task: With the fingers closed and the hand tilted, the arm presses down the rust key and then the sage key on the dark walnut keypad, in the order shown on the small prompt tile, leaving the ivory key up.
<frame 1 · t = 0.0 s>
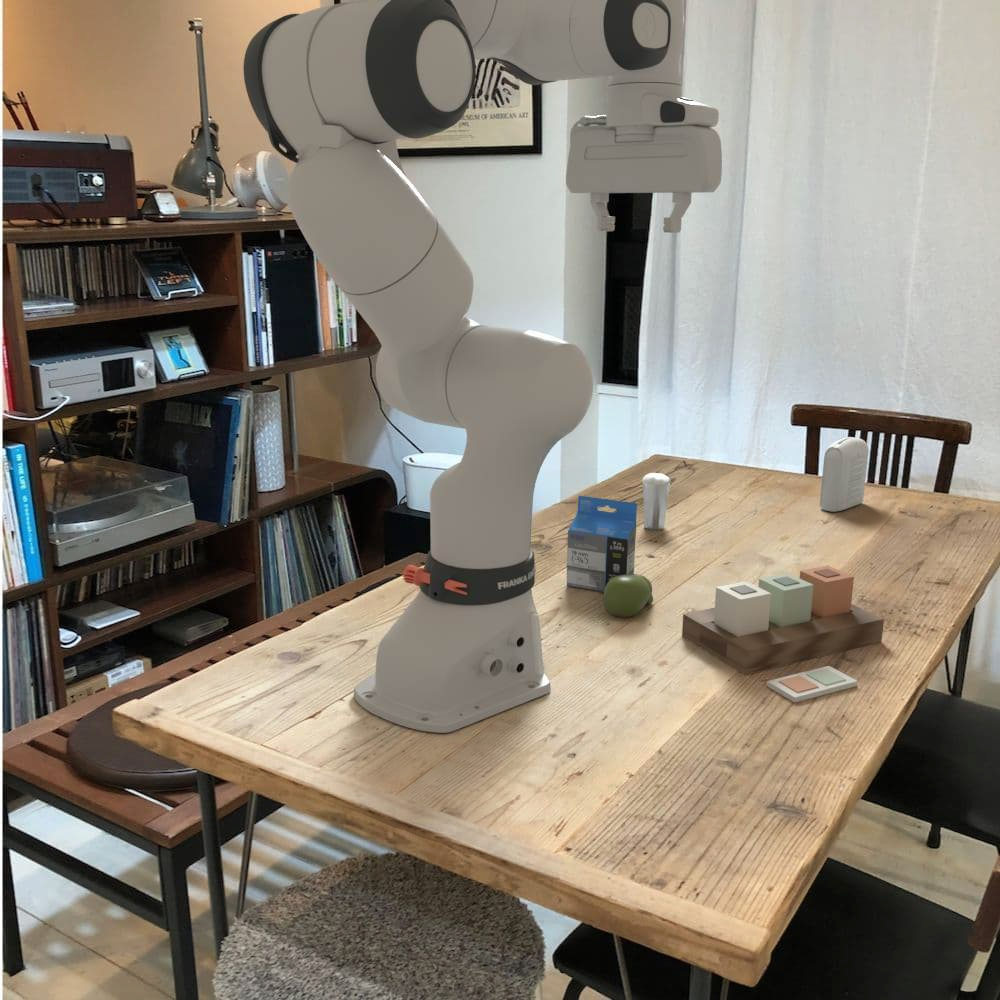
hand: (638, 231, 127), 48 cm above the table, tool pointing down, fingers open, 8 cm apart
keypad base: (781, 639, 126), on the table
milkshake: (656, 529, 170), on the table
prompt tile: (811, 686, 114), on the table
key rust: (825, 590, 127), point 5 cm above the table, slide at 0.0 cm
key sage: (784, 599, 125), point 5 cm above the table, slide at 0.0 cm
label tape cartridge: (599, 588, 143), on the table
key ivory: (742, 608, 122), point 5 cm above the table, slide at 0.0 cm
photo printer: (841, 507, 182), on the table
pear: (629, 610, 136), on the table
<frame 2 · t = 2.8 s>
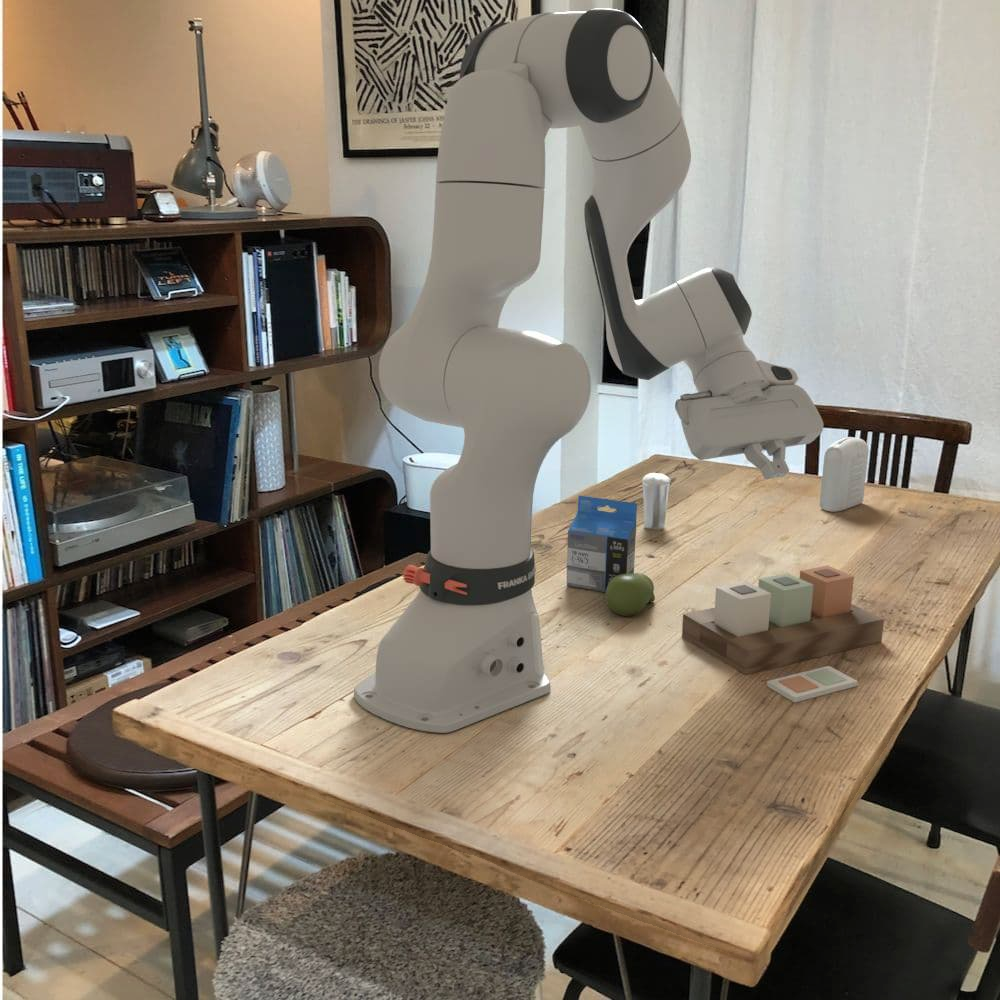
hand: (777, 475, 133), 18 cm above the table, tool tilted 45°, fingers closed
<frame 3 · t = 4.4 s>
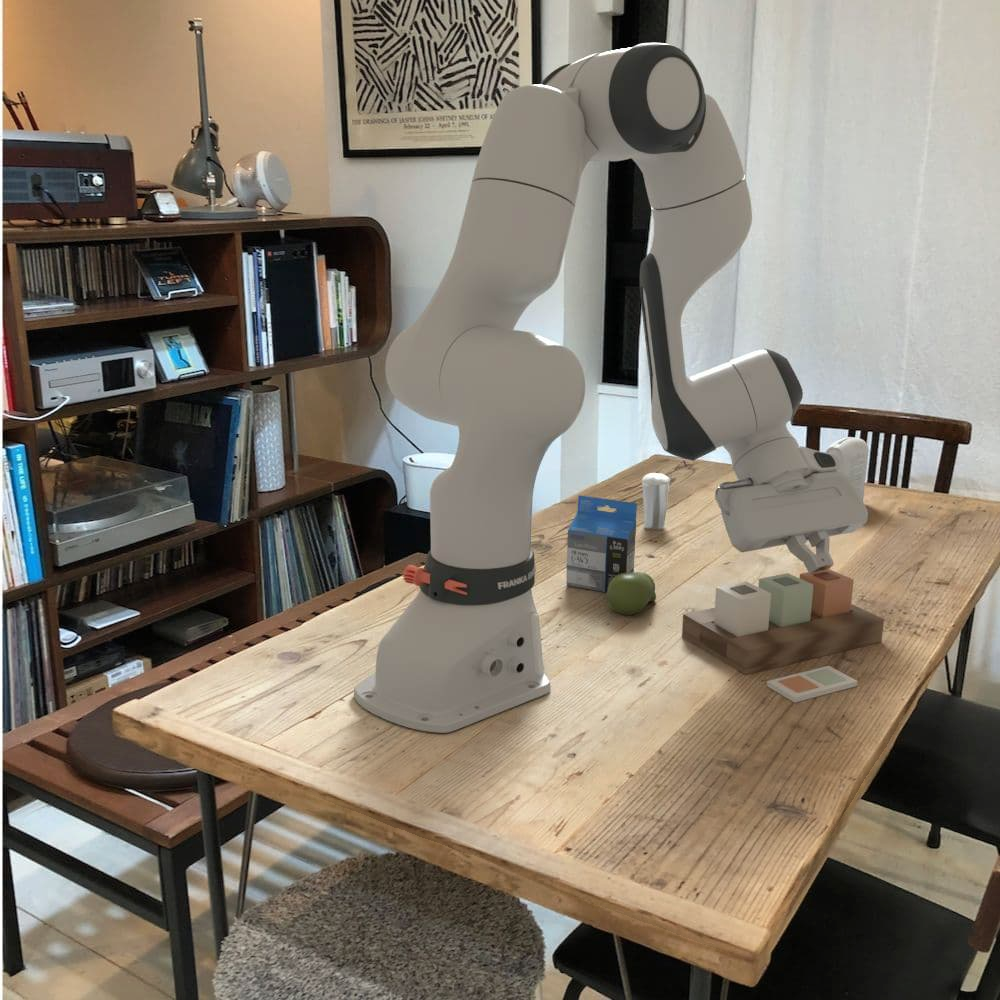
hand: (822, 569, 128), 8 cm above the table, tool tilted 45°, fingers closed, pressing on key rust
key rust: (824, 594, 128), point 5 cm above the table, slide at 0.4 cm, touching gripper
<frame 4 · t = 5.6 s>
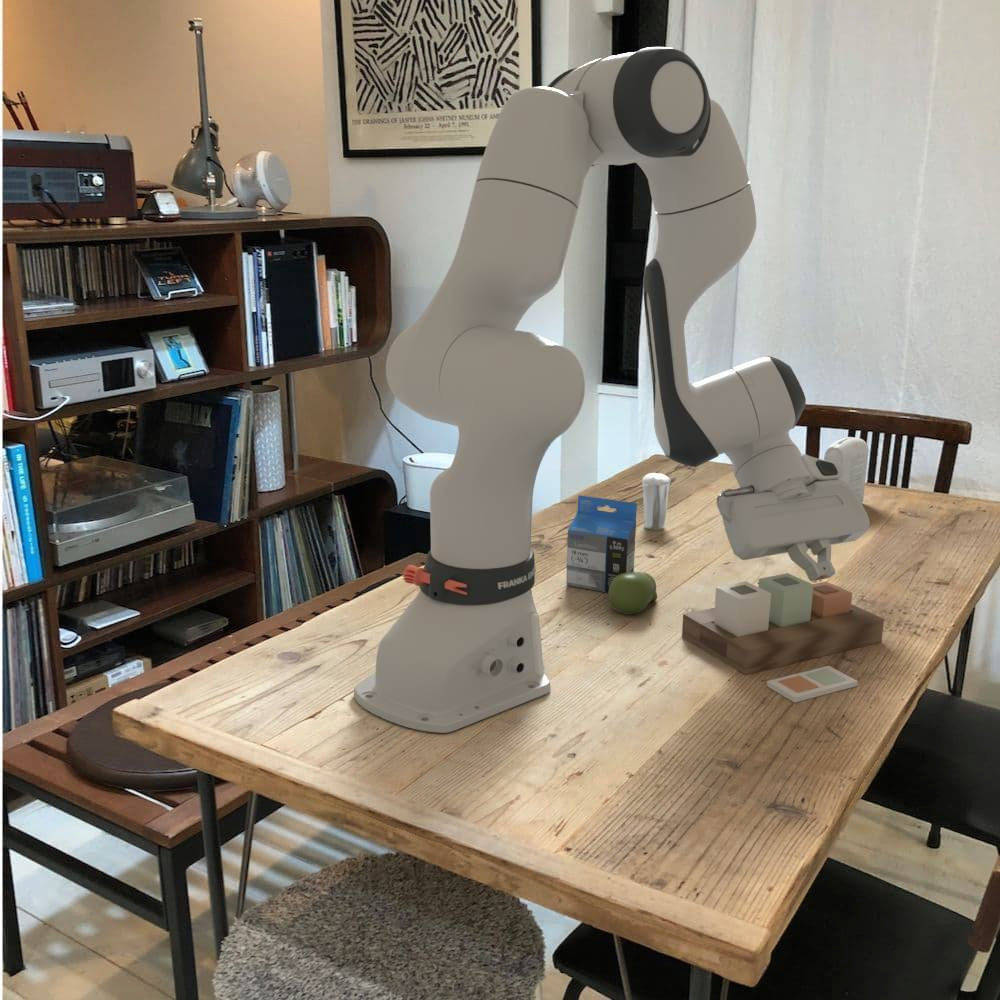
hand: (823, 577, 127), 7 cm above the table, tool tilted 45°, fingers closed
key rust: (823, 607, 128), point 3 cm above the table, slide at 2.2 cm
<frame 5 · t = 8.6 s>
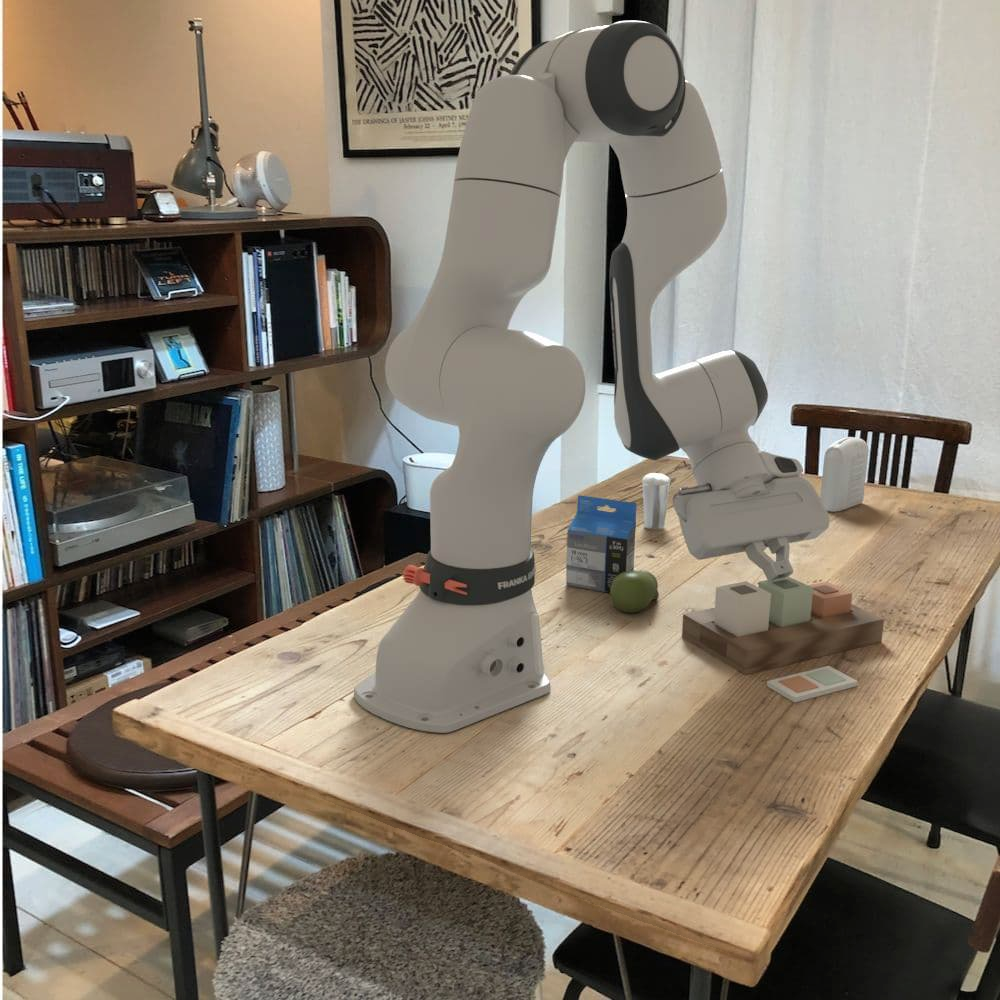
hand: (781, 577, 125), 8 cm above the table, tool tilted 45°, fingers closed, pressing on key sage
key sage: (784, 602, 125), point 5 cm above the table, slide at 0.4 cm, touching gripper
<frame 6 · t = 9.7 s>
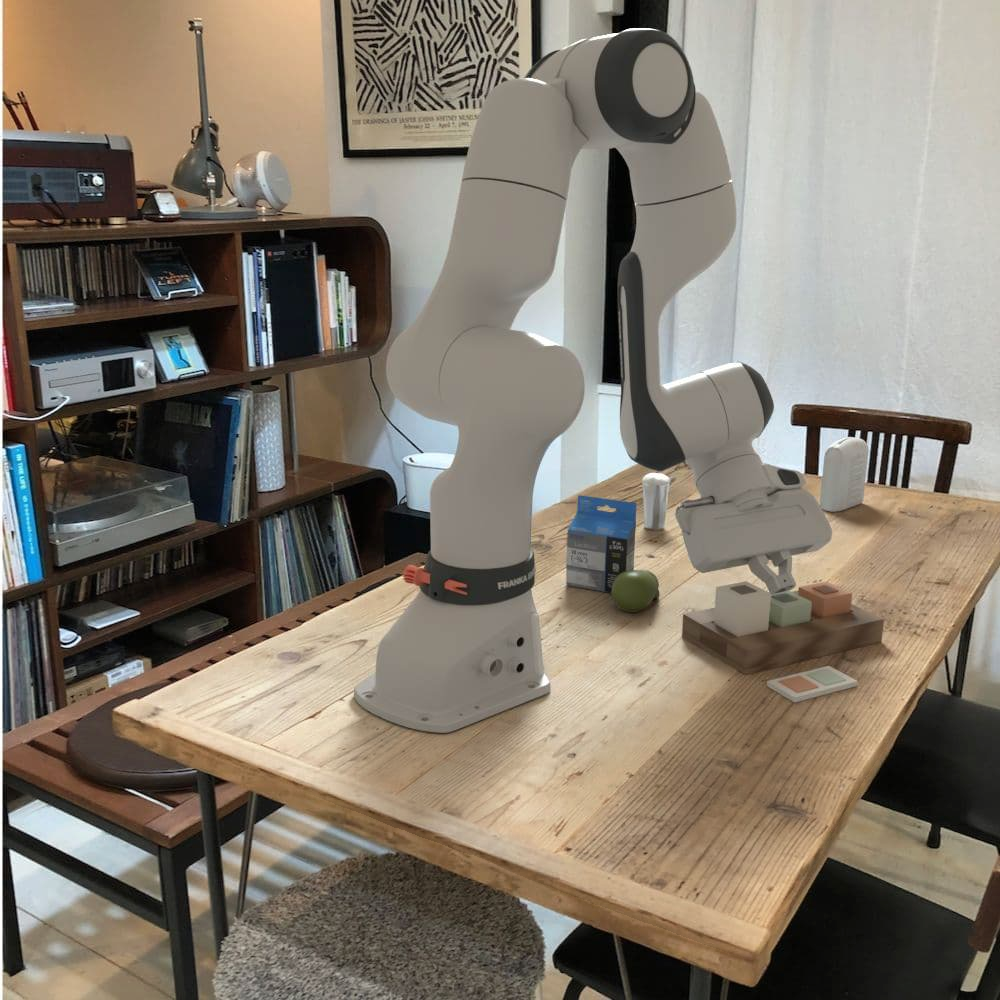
hand: (784, 590, 125), 6 cm above the table, tool tilted 45°, fingers closed
key sage: (783, 616, 125), point 3 cm above the table, slide at 2.2 cm
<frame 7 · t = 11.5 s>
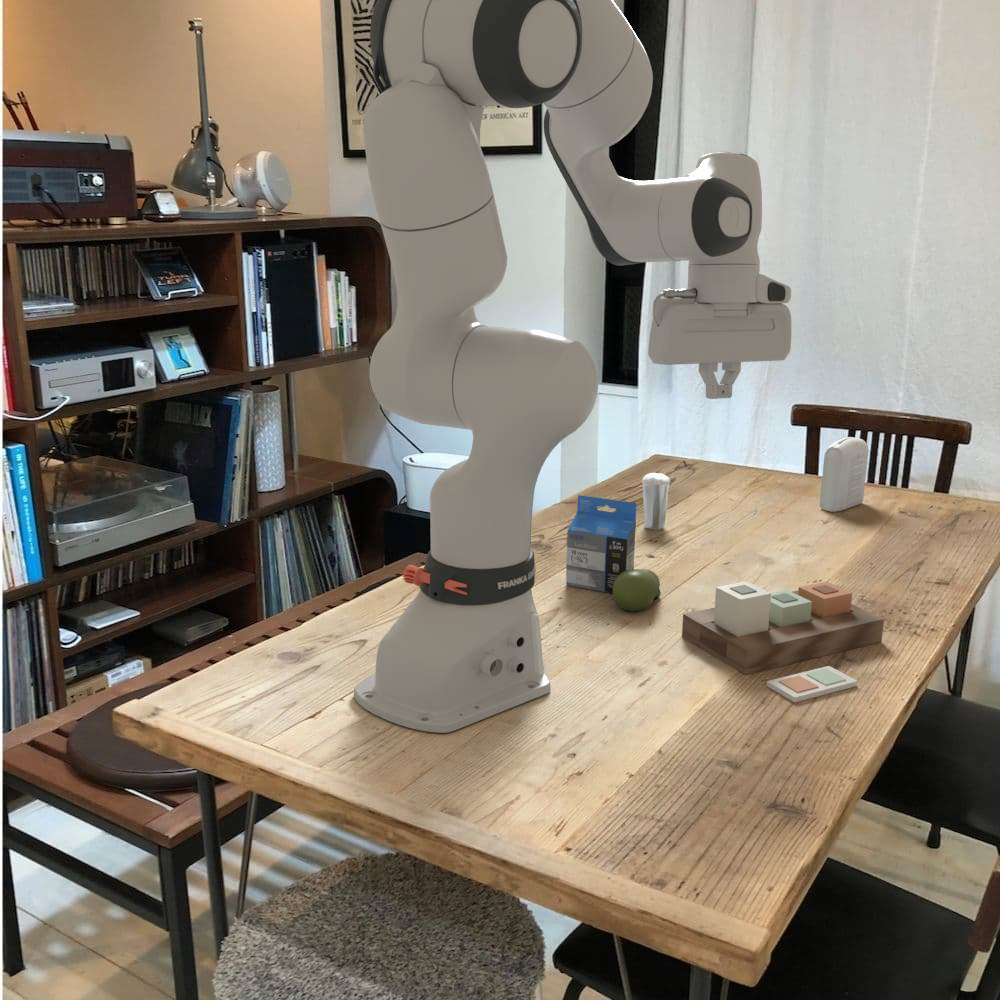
hand: (718, 398, 133), 27 cm above the table, tool pointing down, fingers closed
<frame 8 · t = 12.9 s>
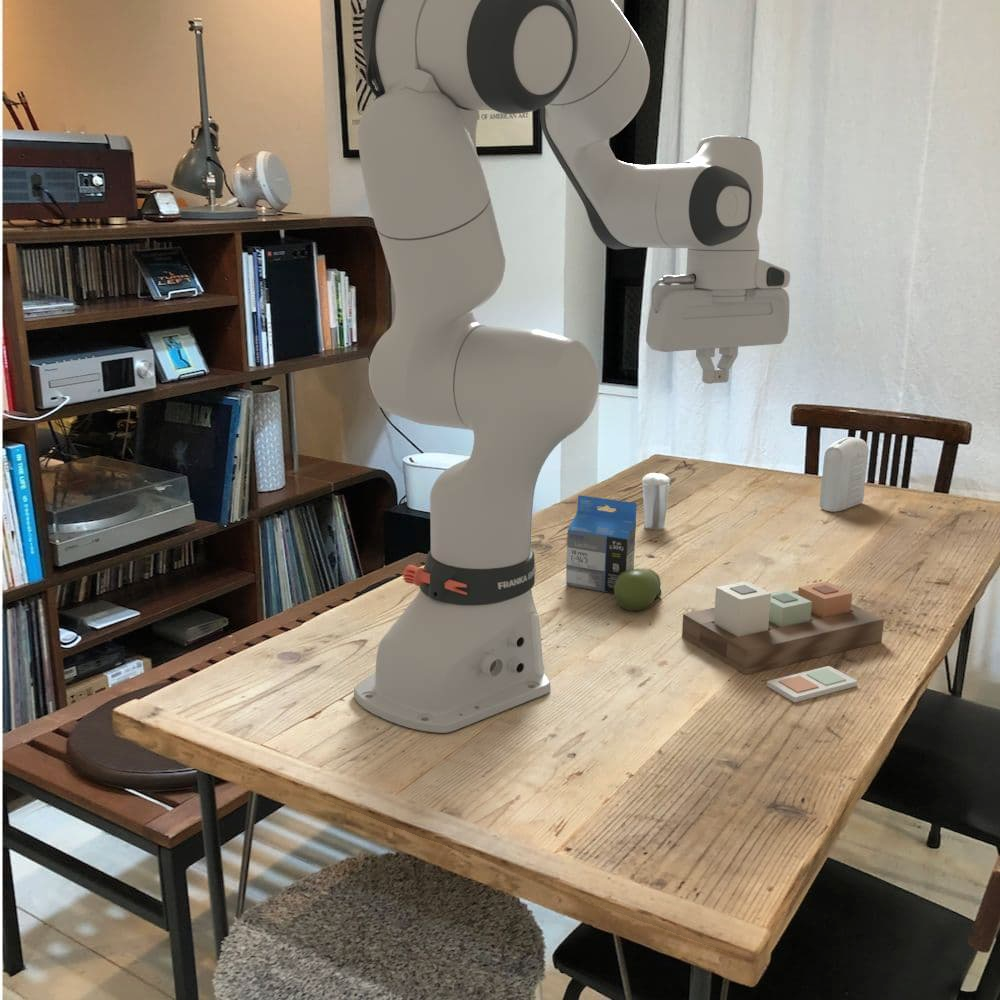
hand: (715, 382, 133), 29 cm above the table, tool pointing down, fingers closed
at the end: key rust slide at 2.2 cm; key sage slide at 2.2 cm; key ivory slide at 0.0 cm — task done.
